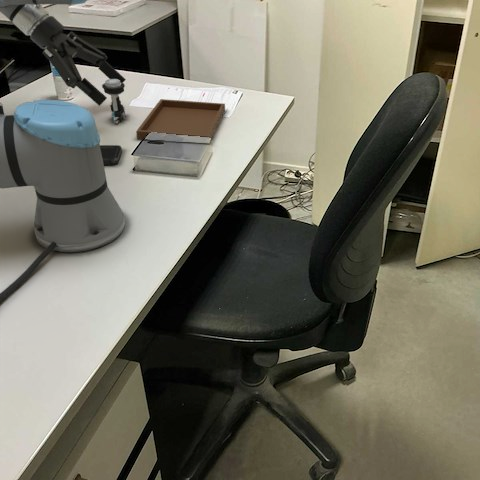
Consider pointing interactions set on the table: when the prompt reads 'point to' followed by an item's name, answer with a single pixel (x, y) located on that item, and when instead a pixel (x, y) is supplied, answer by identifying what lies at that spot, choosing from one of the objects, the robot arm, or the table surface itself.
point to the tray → (183, 118)
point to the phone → (110, 154)
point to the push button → (115, 98)
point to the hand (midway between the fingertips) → (113, 92)
